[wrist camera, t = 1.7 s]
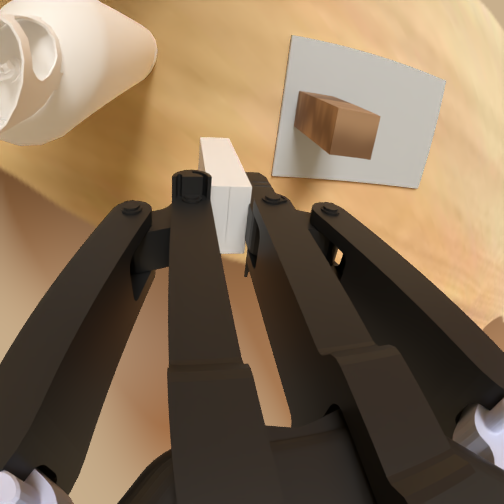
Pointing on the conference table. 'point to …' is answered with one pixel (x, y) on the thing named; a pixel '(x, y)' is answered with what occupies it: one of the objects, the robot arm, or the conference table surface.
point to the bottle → (65, 64)
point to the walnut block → (336, 125)
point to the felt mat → (369, 98)
